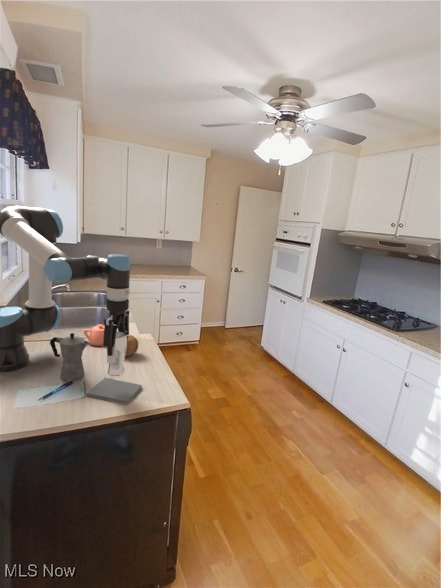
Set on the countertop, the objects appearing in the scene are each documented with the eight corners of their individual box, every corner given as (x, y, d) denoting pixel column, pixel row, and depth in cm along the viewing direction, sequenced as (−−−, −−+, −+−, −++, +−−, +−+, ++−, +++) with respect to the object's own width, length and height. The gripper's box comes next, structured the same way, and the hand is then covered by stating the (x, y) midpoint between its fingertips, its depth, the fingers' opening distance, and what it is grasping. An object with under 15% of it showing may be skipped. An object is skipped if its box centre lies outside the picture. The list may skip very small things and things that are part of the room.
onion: (125, 349, 153) (125, 330, 151) (142, 353, 150) (143, 334, 148) (112, 356, 144) (113, 336, 142) (130, 361, 141) (131, 340, 139)
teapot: (82, 339, 159) (82, 322, 157) (117, 336, 169) (117, 320, 167) (85, 348, 149) (85, 330, 147) (122, 344, 159) (123, 327, 157)
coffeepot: (93, 371, 129) (93, 331, 125) (83, 382, 120) (83, 339, 116) (57, 367, 129) (56, 327, 125) (44, 378, 119) (42, 335, 116)
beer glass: (103, 370, 114) (104, 332, 111) (121, 366, 119) (122, 330, 115) (110, 378, 109) (111, 339, 106) (128, 374, 113) (130, 336, 110)
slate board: (86, 395, 111) (86, 392, 111) (104, 380, 123) (104, 377, 122) (127, 404, 108) (127, 401, 108) (141, 387, 120) (141, 385, 120)
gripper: (112, 306, 98) (111, 372, 102) (140, 294, 116) (137, 350, 121) (91, 303, 99) (91, 368, 104) (122, 291, 118) (120, 347, 123)
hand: (116, 358), depth 113 cm, fingers closed on beer glass, 7 cm apart
